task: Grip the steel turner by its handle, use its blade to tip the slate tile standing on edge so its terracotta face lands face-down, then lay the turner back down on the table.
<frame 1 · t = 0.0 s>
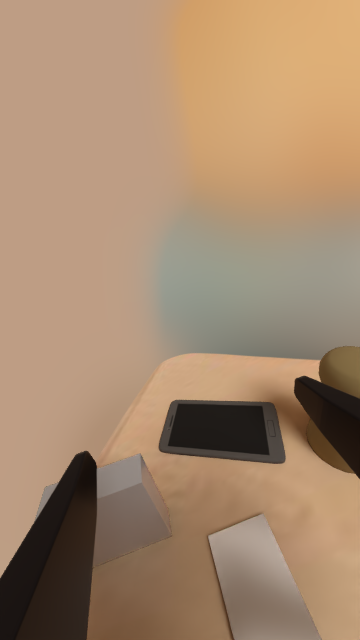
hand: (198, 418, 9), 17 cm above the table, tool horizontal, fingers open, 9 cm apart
tile: (132, 536, 19), on the table
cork: (340, 442, 22), on the table
cell phone: (219, 429, 26), on the table
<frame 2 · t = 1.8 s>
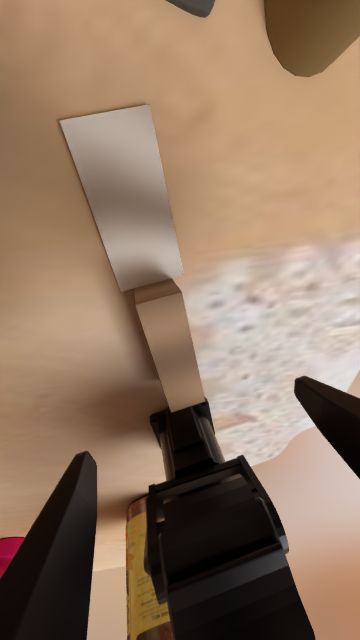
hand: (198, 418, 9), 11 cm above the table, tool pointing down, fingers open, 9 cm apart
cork: (311, 5, 12), on the table
pepper mill: (10, 547, 28), on the table
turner: (166, 334, 19), on the table
sauce bottle: (149, 503, 30), on the table
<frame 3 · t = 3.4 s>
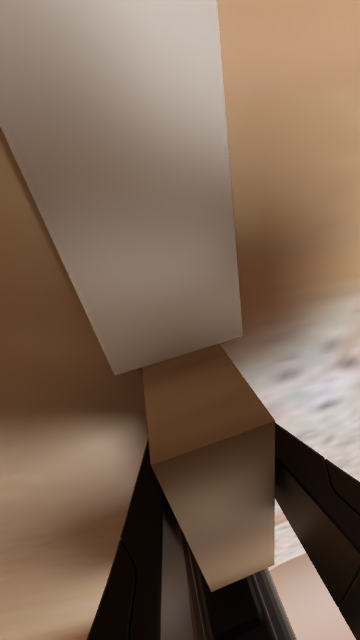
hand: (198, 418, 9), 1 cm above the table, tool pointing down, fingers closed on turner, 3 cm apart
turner: (198, 428, 11), on the table, touching gripper
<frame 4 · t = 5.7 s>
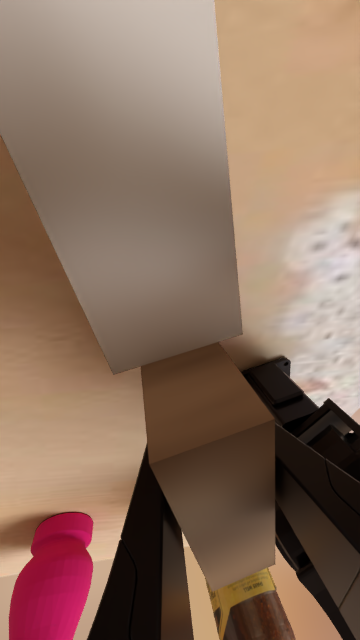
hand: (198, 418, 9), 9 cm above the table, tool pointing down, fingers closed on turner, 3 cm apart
pepper mill: (66, 524, 26), on the table
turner: (198, 427, 11), point 8 cm above the table, touching gripper
sauce bottle: (207, 479, 29), on the table
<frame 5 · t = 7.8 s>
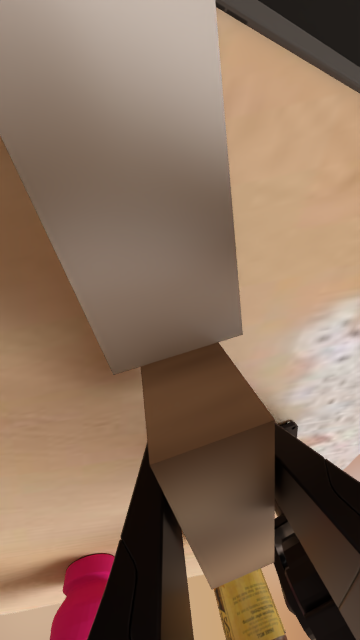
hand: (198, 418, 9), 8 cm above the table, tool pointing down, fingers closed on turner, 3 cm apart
pepper mill: (92, 563, 29), on the table
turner: (198, 427, 11), point 7 cm above the table, touching gripper
sauce bottle: (219, 519, 31), on the table
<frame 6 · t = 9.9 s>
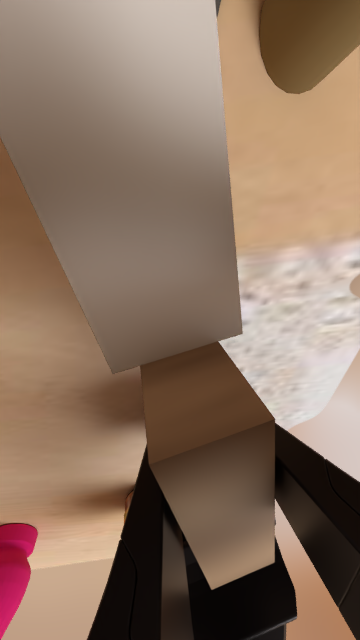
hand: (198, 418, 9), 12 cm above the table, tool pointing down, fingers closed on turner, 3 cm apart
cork: (300, 31, 14), on the table
pepper mill: (12, 534, 29), on the table
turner: (198, 426, 11), point 11 cm above the table, touching gripper
when the fingers open (2 cm above the table, at t = 11.9 s): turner drops 2 cm, on the table.
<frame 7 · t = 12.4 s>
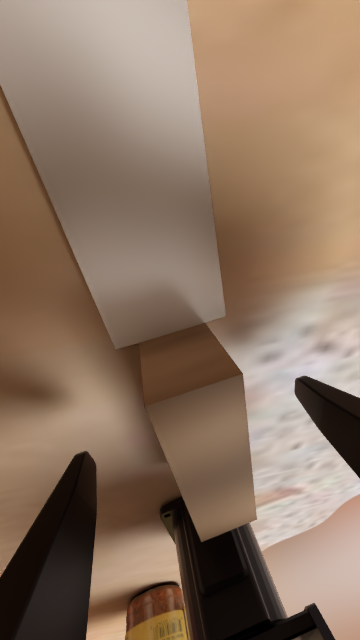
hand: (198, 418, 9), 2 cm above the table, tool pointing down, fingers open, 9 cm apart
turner: (190, 402, 12), on the table
sauce bottle: (155, 592, 23), on the table
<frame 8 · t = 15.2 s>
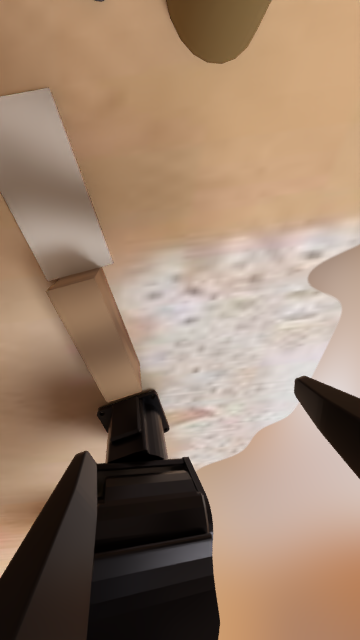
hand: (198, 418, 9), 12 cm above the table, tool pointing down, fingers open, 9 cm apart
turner: (106, 325, 19), on the table
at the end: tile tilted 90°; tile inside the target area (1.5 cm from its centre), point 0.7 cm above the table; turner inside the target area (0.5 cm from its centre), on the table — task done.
